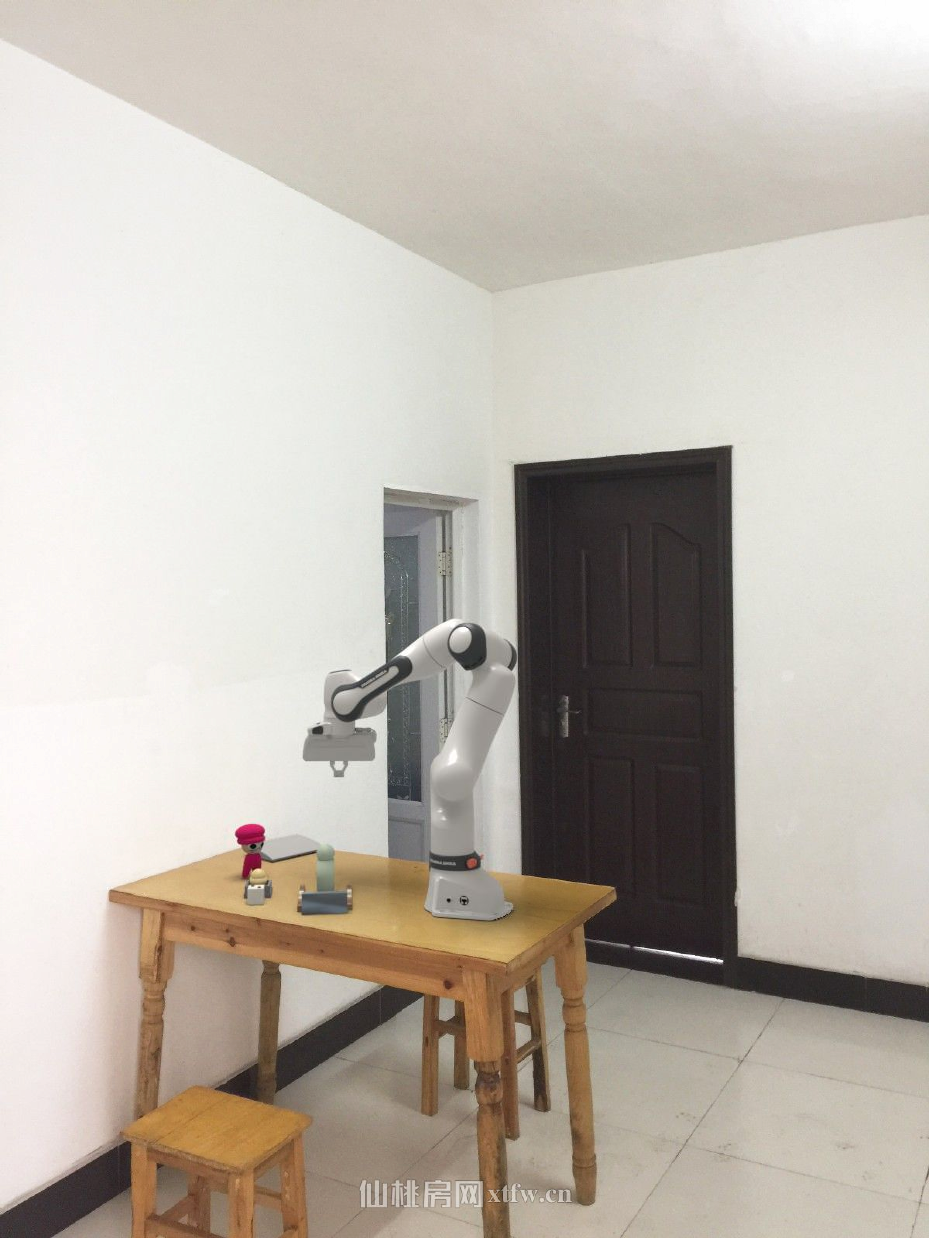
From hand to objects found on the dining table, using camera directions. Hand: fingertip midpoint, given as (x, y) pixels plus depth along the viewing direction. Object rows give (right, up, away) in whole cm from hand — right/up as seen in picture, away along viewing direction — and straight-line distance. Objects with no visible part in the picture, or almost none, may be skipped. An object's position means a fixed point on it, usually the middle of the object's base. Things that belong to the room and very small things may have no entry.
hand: (338, 776), depth 294 cm
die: (-18, -29, -24) cm, 42 cm away
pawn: (-2, -29, -15) cm, 32 cm away
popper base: (-19, -29, -16) cm, 38 cm away
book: (-21, -29, +30) cm, 47 cm away
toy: (-25, -29, +1) cm, 38 cm away
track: (-1, -29, -22) cm, 36 cm away
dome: (-19, -26, -16) cm, 36 cm away
